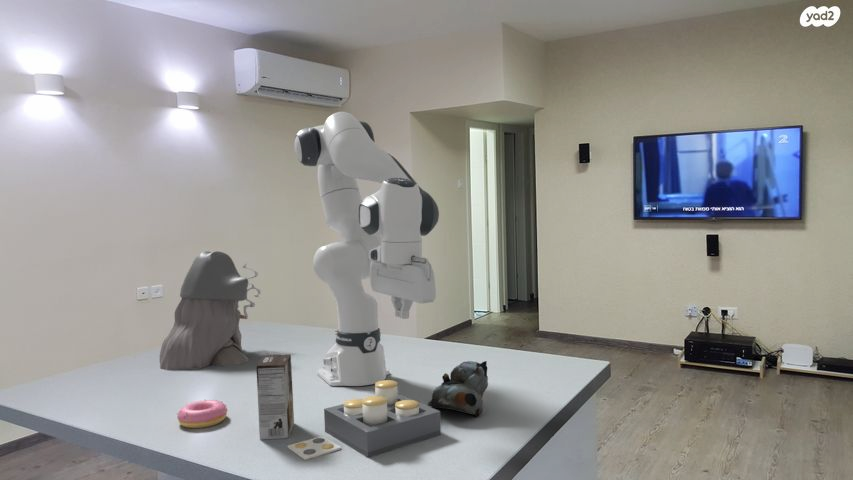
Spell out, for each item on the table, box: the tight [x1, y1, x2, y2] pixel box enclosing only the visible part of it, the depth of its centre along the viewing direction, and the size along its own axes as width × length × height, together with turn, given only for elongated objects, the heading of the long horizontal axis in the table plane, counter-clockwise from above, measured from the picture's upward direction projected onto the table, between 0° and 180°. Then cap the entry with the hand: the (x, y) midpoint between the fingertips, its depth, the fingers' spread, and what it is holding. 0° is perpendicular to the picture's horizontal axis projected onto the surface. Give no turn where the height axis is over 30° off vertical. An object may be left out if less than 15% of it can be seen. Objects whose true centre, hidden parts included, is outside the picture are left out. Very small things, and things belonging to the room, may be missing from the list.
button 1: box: [343, 398, 364, 416], centre depth 132 cm, size 5×5×5 cm
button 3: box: [374, 379, 399, 407], centre depth 137 cm, size 5×5×5 cm
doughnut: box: [176, 399, 228, 429], centre depth 142 cm, size 11×11×4 cm
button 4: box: [395, 399, 420, 418], centre depth 131 cm, size 5×5×5 cm
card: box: [287, 435, 342, 461], centre depth 125 cm, size 8×8×1 cm
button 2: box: [362, 395, 388, 427], centre depth 126 cm, size 5×5×5 cm
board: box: [323, 393, 442, 458], centre depth 132 cm, size 18×18×5 cm
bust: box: [159, 250, 261, 371], centre depth 203 cm, size 34×34×35 cm
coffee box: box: [255, 353, 295, 441], centre depth 134 cm, size 9×6×16 cm
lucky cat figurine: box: [426, 360, 489, 417], centre depth 144 cm, size 15×12×14 cm
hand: (402, 317), depth 133 cm, fingers closed
